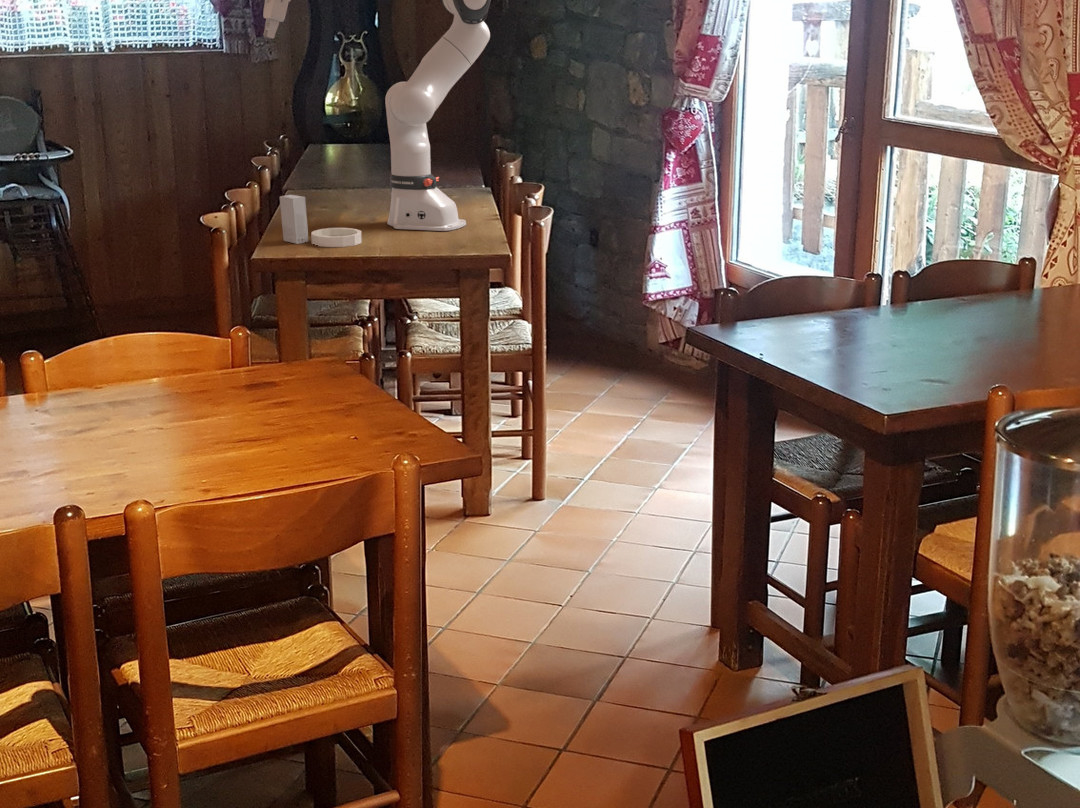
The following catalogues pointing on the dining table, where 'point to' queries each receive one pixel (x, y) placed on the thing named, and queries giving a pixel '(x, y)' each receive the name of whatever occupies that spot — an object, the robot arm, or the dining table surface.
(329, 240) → the ring dish
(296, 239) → the skincare box
